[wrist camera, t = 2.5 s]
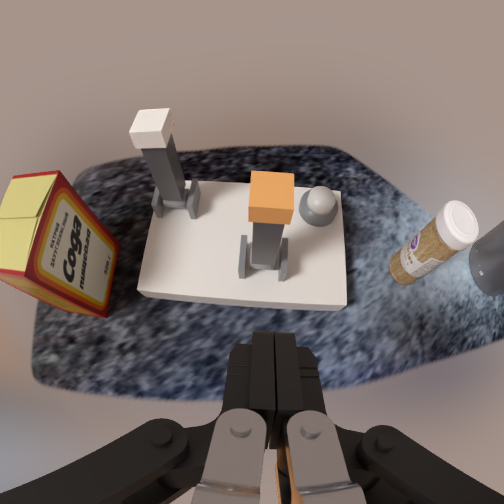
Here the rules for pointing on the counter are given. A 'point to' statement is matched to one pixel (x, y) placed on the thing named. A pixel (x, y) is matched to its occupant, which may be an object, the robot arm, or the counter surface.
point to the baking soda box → (56, 245)
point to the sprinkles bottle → (435, 243)
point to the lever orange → (269, 215)
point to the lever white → (160, 154)
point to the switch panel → (245, 251)
